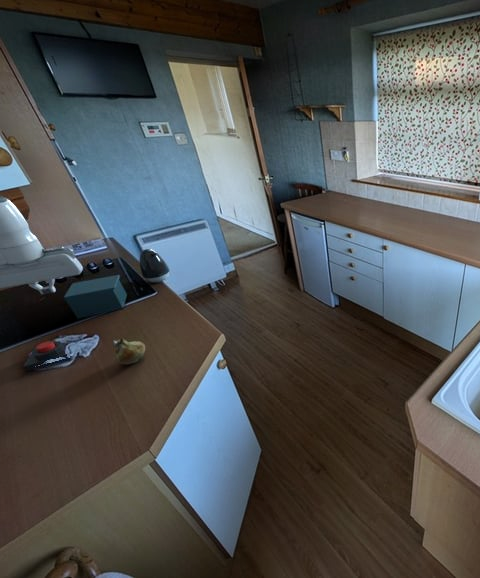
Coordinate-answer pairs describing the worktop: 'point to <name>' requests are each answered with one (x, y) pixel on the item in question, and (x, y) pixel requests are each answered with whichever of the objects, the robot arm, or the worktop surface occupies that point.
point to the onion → (129, 351)
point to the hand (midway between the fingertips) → (49, 292)
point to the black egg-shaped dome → (153, 266)
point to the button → (45, 346)
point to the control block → (46, 357)
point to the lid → (92, 286)
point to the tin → (98, 302)
